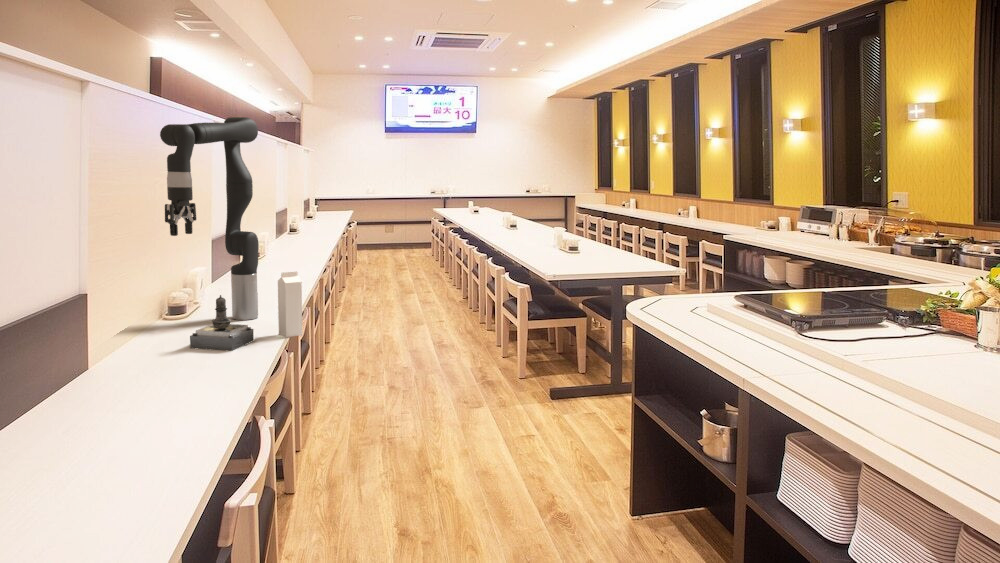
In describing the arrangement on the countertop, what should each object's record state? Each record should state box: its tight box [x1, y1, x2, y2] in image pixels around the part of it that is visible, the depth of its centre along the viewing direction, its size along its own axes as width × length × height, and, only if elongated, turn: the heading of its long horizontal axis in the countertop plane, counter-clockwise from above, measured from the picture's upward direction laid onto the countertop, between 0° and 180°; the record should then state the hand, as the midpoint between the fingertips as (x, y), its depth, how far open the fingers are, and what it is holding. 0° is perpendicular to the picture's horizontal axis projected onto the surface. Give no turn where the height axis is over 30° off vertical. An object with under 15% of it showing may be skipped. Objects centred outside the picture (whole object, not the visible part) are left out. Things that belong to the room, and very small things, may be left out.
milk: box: [277, 271, 303, 338], centre depth 236 cm, size 6×6×22 cm
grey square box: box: [189, 323, 254, 352], centre depth 221 cm, size 14×14×6 cm
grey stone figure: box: [211, 294, 232, 332], centre depth 220 cm, size 6×6×12 cm
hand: (181, 234), depth 229 cm, fingers open, 8 cm apart
